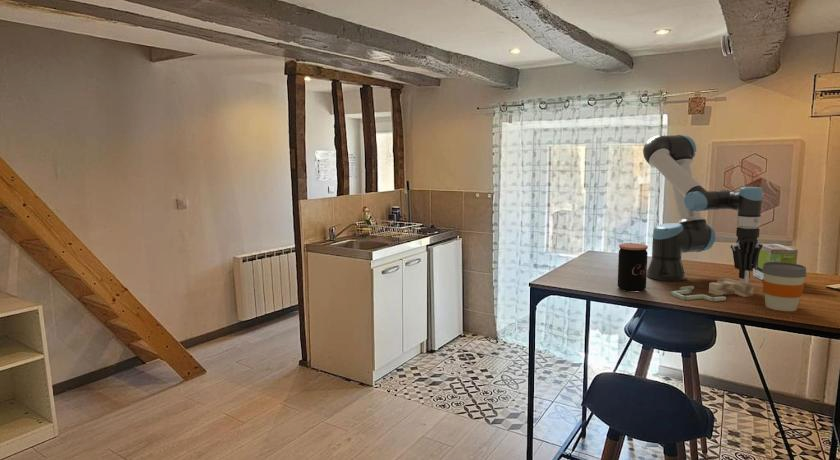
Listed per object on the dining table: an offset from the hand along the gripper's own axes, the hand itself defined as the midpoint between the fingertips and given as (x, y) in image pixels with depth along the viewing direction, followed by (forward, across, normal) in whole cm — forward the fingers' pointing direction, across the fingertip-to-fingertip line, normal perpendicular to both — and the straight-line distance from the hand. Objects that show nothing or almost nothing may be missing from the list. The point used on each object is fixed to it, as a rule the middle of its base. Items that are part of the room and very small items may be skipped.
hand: (743, 286), depth 200 cm
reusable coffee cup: (+2, -6, -21) cm, 22 cm away
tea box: (+2, +25, +10) cm, 27 cm away
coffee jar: (+2, -39, +15) cm, 42 cm away
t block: (+2, -8, 0) cm, 8 cm away
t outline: (+2, -22, 0) cm, 22 cm away
